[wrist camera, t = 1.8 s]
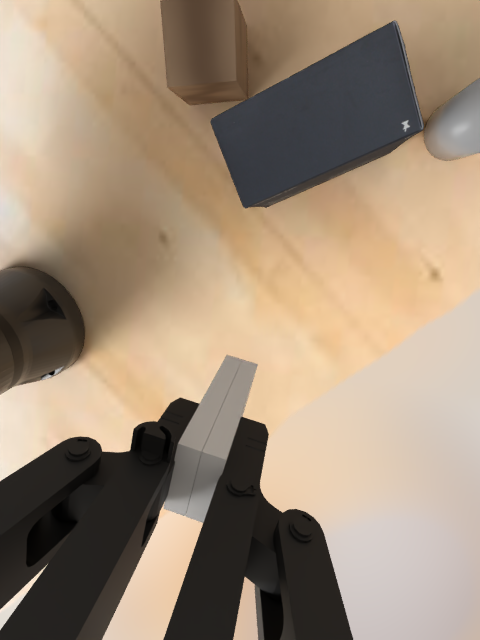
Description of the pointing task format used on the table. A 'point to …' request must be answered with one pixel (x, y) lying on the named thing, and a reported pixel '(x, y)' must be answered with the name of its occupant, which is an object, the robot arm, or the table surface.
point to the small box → (321, 120)
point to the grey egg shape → (455, 126)
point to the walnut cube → (205, 50)
